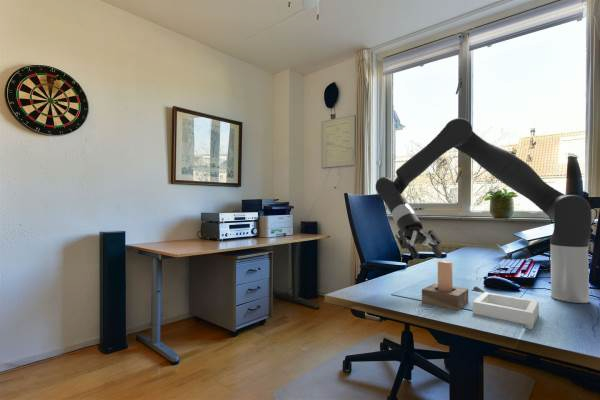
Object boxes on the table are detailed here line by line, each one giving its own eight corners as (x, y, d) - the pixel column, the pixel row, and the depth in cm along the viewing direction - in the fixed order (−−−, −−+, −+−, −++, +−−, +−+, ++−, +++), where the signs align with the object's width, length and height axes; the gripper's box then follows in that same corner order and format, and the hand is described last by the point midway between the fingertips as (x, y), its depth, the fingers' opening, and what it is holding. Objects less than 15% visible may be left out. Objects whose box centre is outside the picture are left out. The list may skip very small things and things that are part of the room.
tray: (484, 305, 94) (484, 292, 94) (538, 315, 85) (538, 300, 85) (472, 316, 84) (472, 301, 84) (532, 329, 76) (532, 312, 76)
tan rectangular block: (440, 299, 96) (440, 260, 97) (454, 302, 94) (454, 262, 94) (435, 302, 93) (435, 262, 94) (450, 305, 91) (449, 263, 91)
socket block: (434, 299, 101) (434, 283, 101) (468, 305, 94) (468, 288, 94) (421, 306, 93) (421, 289, 93) (458, 314, 86) (458, 295, 86)
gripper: (393, 212, 107) (415, 250, 96) (428, 212, 111) (453, 248, 100) (384, 227, 112) (404, 265, 101) (418, 226, 116) (441, 262, 105)
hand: (428, 256), depth 100 cm, fingers open, 8 cm apart
